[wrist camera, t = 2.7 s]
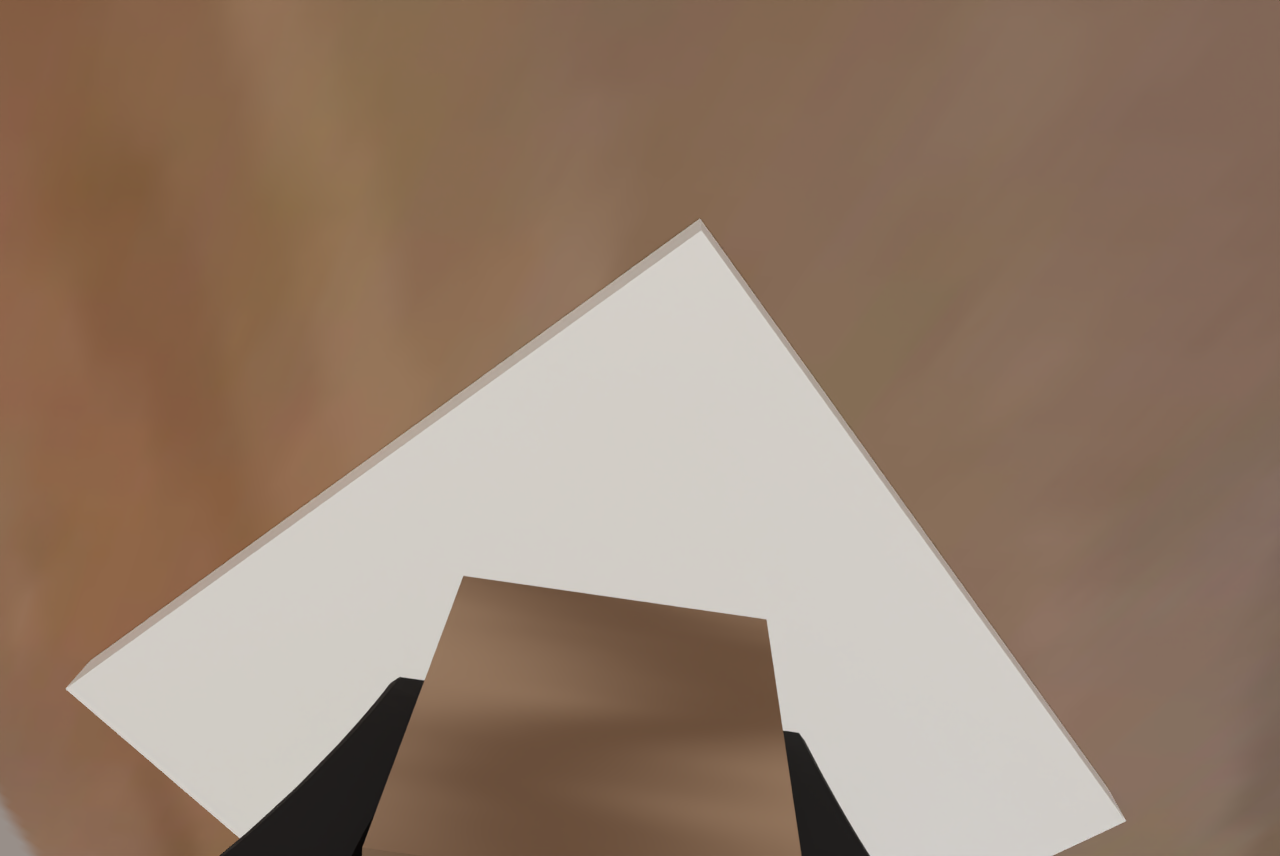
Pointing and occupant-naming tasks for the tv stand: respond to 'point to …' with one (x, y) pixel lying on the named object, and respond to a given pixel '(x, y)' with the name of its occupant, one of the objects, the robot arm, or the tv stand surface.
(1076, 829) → the baseplate
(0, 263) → the tv stand surface
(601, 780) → the walnut cube
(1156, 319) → the tv stand surface
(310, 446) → the tv stand surface
